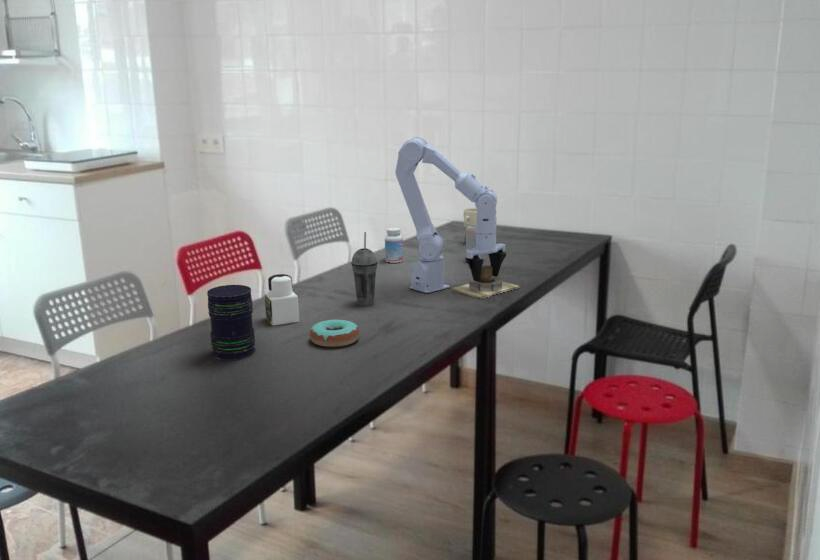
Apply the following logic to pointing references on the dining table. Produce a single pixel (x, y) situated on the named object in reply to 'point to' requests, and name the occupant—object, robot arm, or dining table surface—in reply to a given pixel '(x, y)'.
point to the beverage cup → (364, 274)
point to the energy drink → (471, 238)
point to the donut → (334, 333)
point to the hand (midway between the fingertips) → (485, 278)
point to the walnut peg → (486, 274)
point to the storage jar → (231, 322)
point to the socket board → (483, 294)
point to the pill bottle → (393, 246)
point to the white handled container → (281, 301)
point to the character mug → (470, 217)
